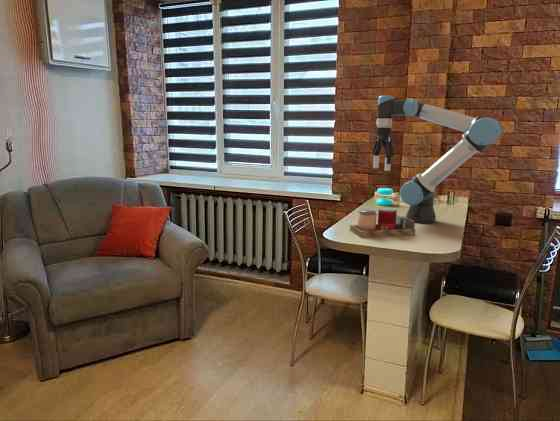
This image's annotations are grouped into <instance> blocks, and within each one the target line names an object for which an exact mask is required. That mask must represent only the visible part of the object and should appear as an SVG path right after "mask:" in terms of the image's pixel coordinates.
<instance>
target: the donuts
mask: <svg viewBox="0 0 560 421" xmlns="http://www.w3.org/2000/svg"><path fill="white" fill-rule="evenodd" d="M376 191H377V194H378V195H381V196H390V195H393V194H394V190H393V188H386V187H380V188H377V190H376ZM376 204H377V205H378V206H383V207H384V206H385V207H388V206H392V205H393V200H392V199H390V198H384V197H381V198H378V199H377V200H376Z"/></svg>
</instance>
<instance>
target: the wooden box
mask: <svg viewBox="0 0 560 421" xmlns="http://www.w3.org/2000/svg"><path fill="white" fill-rule="evenodd" d="M401 217H402V218H405V219H406V223H407V226H405V229H397V230H377V227H378V223H376V230H369V231H361V230H360V229H358V224H350V225H349V232H351V233H353V234H354V235H356V236H358V237H359V238H369V237H370V238H372V237H376V238H377V237H393V236H395V237H396V236H397V237H398V236H400V237H401V236H416V229H415V225H416V222H415V221H413V220H411V219H408V218H406V216H401Z"/></svg>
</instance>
